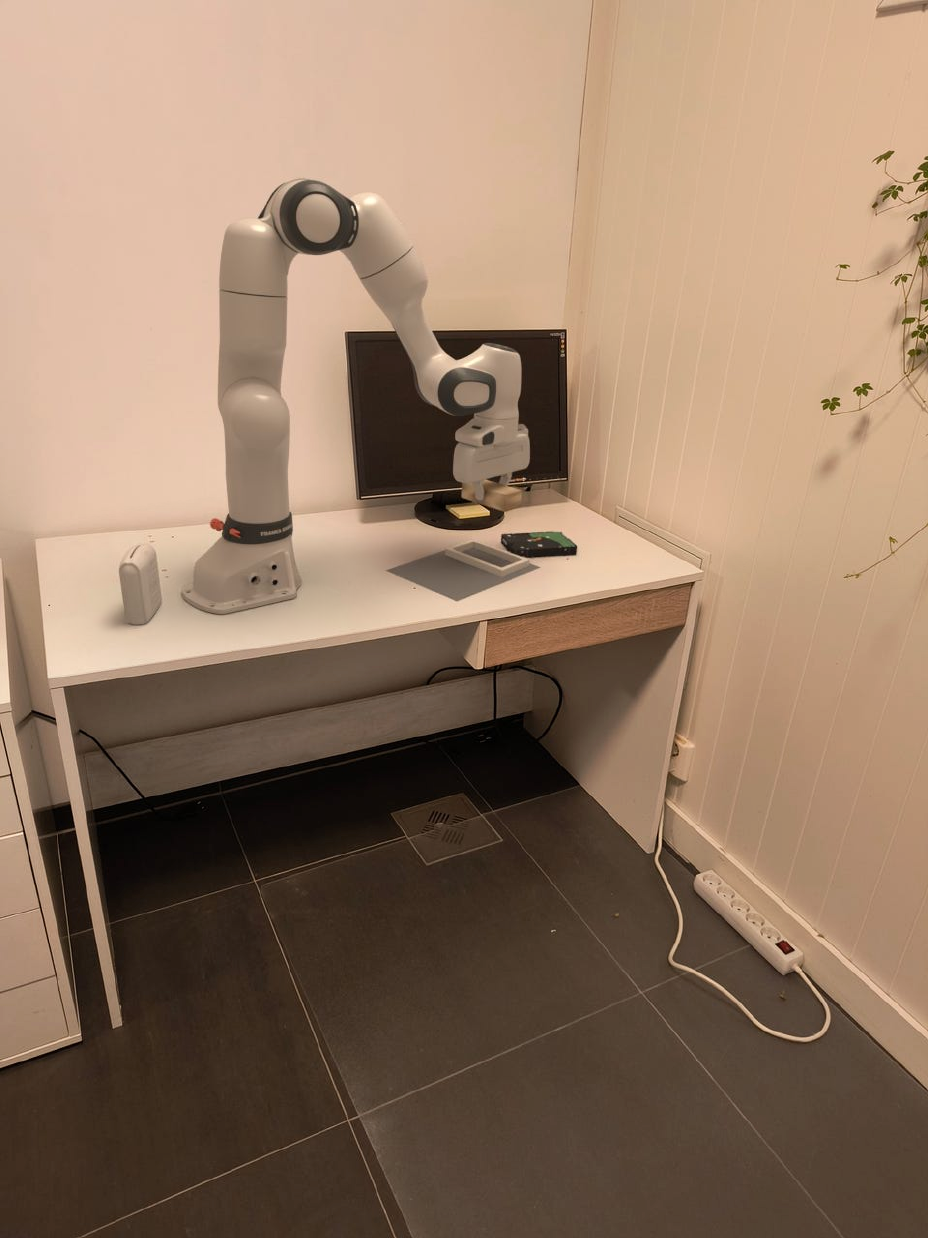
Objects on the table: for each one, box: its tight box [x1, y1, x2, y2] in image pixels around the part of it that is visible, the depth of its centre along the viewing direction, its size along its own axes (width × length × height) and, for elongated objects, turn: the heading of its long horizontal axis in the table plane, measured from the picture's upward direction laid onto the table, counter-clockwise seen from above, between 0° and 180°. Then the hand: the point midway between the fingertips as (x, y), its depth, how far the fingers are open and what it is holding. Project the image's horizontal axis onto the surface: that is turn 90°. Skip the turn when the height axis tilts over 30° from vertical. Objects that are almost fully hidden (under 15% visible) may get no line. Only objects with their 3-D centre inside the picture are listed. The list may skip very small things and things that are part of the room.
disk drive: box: [500, 531, 578, 559], centre depth 181 cm, size 10×3×15 cm
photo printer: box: [118, 542, 163, 626], centre depth 140 cm, size 10×4×12 cm, turn 3°
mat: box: [385, 538, 541, 602], centre depth 167 cm, size 26×20×2 cm
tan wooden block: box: [461, 479, 523, 513], centre depth 166 cm, size 12×5×4 cm, turn 48°
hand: (490, 496), depth 166 cm, fingers closed on tan wooden block, 5 cm apart
